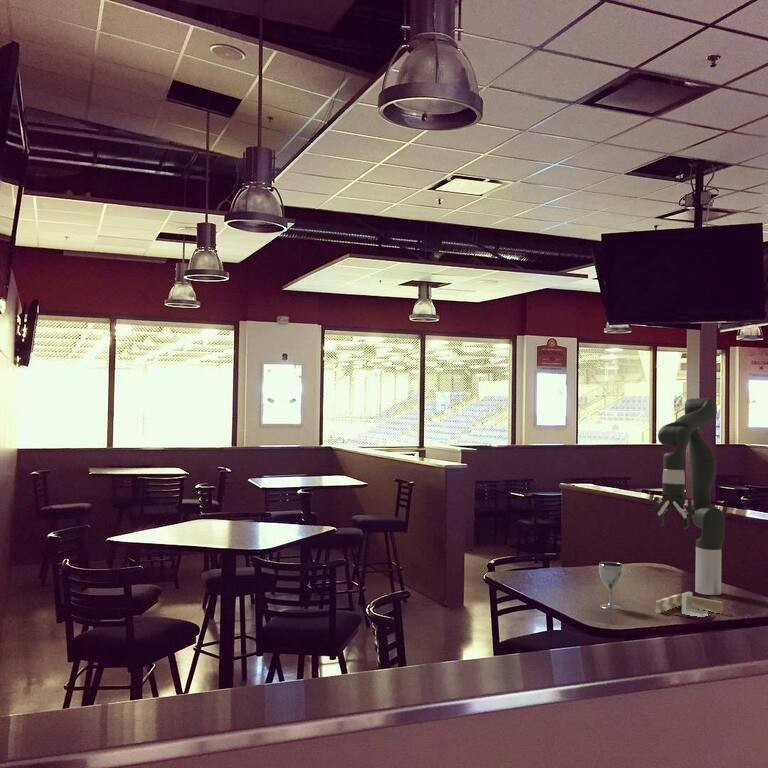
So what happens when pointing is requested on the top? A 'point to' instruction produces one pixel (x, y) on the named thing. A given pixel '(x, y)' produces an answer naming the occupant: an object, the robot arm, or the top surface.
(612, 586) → the wine glass
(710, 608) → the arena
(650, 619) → the top surface
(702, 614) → the bracket
